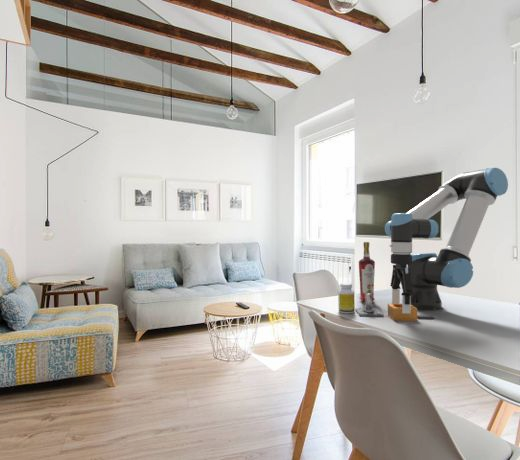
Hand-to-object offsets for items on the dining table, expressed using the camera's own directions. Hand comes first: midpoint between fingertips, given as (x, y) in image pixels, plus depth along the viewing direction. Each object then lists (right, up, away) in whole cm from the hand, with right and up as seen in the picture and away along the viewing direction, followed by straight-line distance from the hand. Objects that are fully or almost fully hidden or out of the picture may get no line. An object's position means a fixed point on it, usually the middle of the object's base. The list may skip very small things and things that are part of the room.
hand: (400, 309), depth 136 cm
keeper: (-10, -3, +8) cm, 13 cm away
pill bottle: (-18, -4, +11) cm, 21 cm away
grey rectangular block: (+9, -3, -1) cm, 10 cm away
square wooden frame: (+1, -3, 0) cm, 3 cm away
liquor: (-3, -4, +32) cm, 32 cm away
